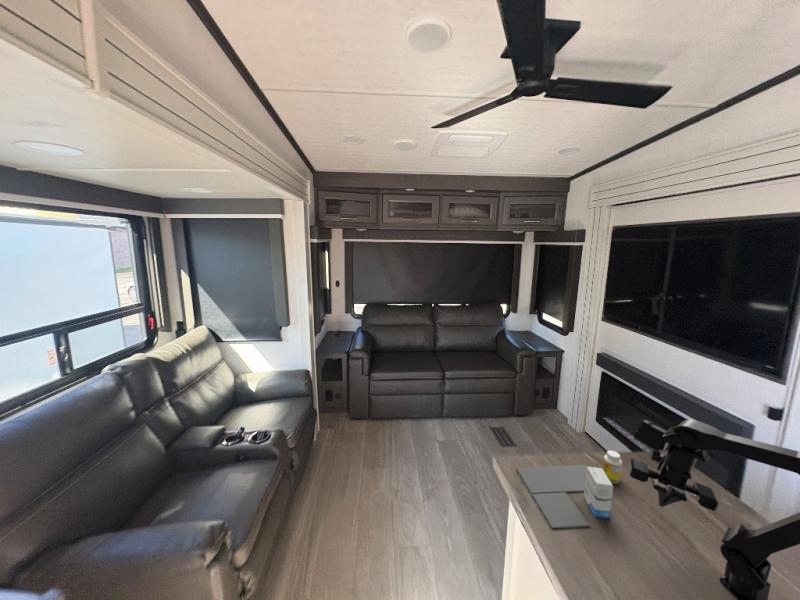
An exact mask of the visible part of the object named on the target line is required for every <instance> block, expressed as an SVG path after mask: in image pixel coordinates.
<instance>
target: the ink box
mask: <svg viewBox="0 0 800 600" xmlns="http://www.w3.org/2000/svg"><path fill="white" fill-rule="evenodd" d="M613 493H614V486H613V483H612V482H610V480H609V479H608V477H607V476H606V474H605V472H604V471H603V467H595V466H588V465H587V472H586V482H585V492H584V493H583V494H584V495H583V497H584V499H585V502H586V503H587V505H588V507H589V509H590V511H591V513H592V514H593V517H596V518H605V519H611V512H612V511H611V510H612V501H613Z"/></svg>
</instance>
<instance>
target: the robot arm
mask: <svg viewBox="0 0 800 600" xmlns="http://www.w3.org/2000/svg"><path fill="white" fill-rule="evenodd" d="M633 439H634V440H635V441H637V442H639V443H641V444H643V445H644V446H646V447H647V448H649V449H651V450H650V452H649V457H648V458H649V459H650V460H651V461H653V462H655V464H656V470H657V471H658V472H656V471H655V470H651V469H650V468H649V467H648V463H647V462H643V461H640V460H638V459H635V458H630V459H628V460H629V461H628V465H627V466H628V473H629V477H631V478H632V479H635V480H637V481H640V482H643V483H645V482H648V480H649V478H650V480H651V485H652V488H653V489H654V490H656V491H657V499H658V501H657V502H658V506H659V507H662V508H664V507H666V506H668V505H669V506H670V505H671V504H673V503H678V502H681V501H683V502H688V499H687V495H691V496H694V497H696V498H697V497H698V499H697V502H698V504H699V505H700V506H702V507H704V508H705V509H708V510H710V511H712V512H716V511H717V509H718V507H719V504H720V503H719V501H718V498H717V496H716V494H715V492H714V490H713V488H712V487H708V486H706V485H703V484H701V483H699V482H696V481H695V482H692V485H689V484H687V483H688V480H691V479H692V475H691V473H692V472H693V469H694V466H695V464H696V462H697V460H699V461H701V462H703V463H707V462H708V461H709V459H710V458H711V456H710V455H709V453H708V452H719V453H726V454H729V455H733V456H737V457H739V458H744V459H747V460H751V461H754V462H756V463H762V464H764V465H768V466H770V467H774V468H778V469H781V470H785V471H788V472H792V473H794V474H797V475H799V476H800V451H798V450H794V449H791V448H787V447H782V446H779V445H774V444H769V443H766V442H763V441H759V440H755V439H751V438H747V437H742V436H739V435H736V434H731V433H727V432H725V431H724V432H723V431H721V430H719V429H718V428H716V427H715V426H712V425H711V424H707V423H704V422H702V421H700V420H696V419H692V418H686V419H685V420H682V421H681V422H680V424H678V425H677V426H673V427H670V428H669V429H668V430H665V429H664V428H661V427H660V426H658V425H656V424H654V423H653V422H652V421H649V420H647V419H644V420H643V421H642V422H641V424H640V425H639V427H638V429H637V430H636V431H635V433H634V436H633ZM668 445H669V447H668ZM667 448H668V449H667ZM666 449H667V452H666V454H663V453H661V451H662V452H664V451H665V450H666ZM666 487H667V488H666ZM799 545H800V512H797V513H795V514H791V515H790V516H787V517H784V518H781V519H780V520H777V521H775V522H772V523H769V524H767V525H765V526H762V527H760V528H757V529H750V528H747V527H745V525H743V523H738V524H737V525H736V526H734V527H727V529H726V531H725V533H724V535H723V537H722V539H721V545H720V547H719V549H720V553H721V554H722V557H724V559H725V560H726V564H725V569H724V577H719V582H720V583H722V584H723V585H724V586H725V588H727V589H728V590H729V591H730V592H731V593H732V595H734V596H735V598H737V600H769V594H770V590H771V586H772V585H771V583H769V581H768V579H769V575H770V573H771V569H772V563H770V562H769V560H768V558H769V557H770V556H771V555H773V554H775V553H778V552H780V551H784V550H788V549H790V548H793V547H796V546H799Z"/></svg>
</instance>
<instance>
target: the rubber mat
mask: <svg viewBox="0 0 800 600" xmlns="http://www.w3.org/2000/svg"><path fill="white" fill-rule="evenodd" d="M587 466H588V465H587V464H574V465H551V466H550V465H549V466H547V465H546V466H531V467H530V466H529V467H528V466H527V467H516V471H517V472H518V474H519V476H520V477H521V479H522V481H523V482H524V485H525V487H526V489H528V491H529V493H530V495H531V496H532V498H533V500H534V501H535V502H536V505H537V507H538V508H539V509H540V511H541V513H542V514H543V516H544V518H545V519H547V520H546V521H547V523H548V525H549V524H550V525H549V526H550V528H551V529H552V530H553V528H558V529H574V528H575V529H576V528H591V524H590V523H589V522H588V521H587V519H586V518H585V517H584V515H583V513H582V512H581V511H580V510H579V508H578V507H577V506H576V504H575V503H574V502H573V501H572V499H571V497H570V496H569V495H568V494H567V493H583V492H585V482H586V472H587Z"/></svg>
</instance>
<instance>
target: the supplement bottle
mask: <svg viewBox="0 0 800 600" xmlns="http://www.w3.org/2000/svg"><path fill="white" fill-rule="evenodd" d="M622 467H623V461H622V459H621V455H620V453H619V452H617V451H614V450H607V452H606V454H605V455H604V456H603V464H602V469H603V471H604V472H605V474H606V476H607V477H608V479H609V480H610V482H611V484H619V483H620V481H621V479H622V478H621V477H622Z"/></svg>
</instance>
